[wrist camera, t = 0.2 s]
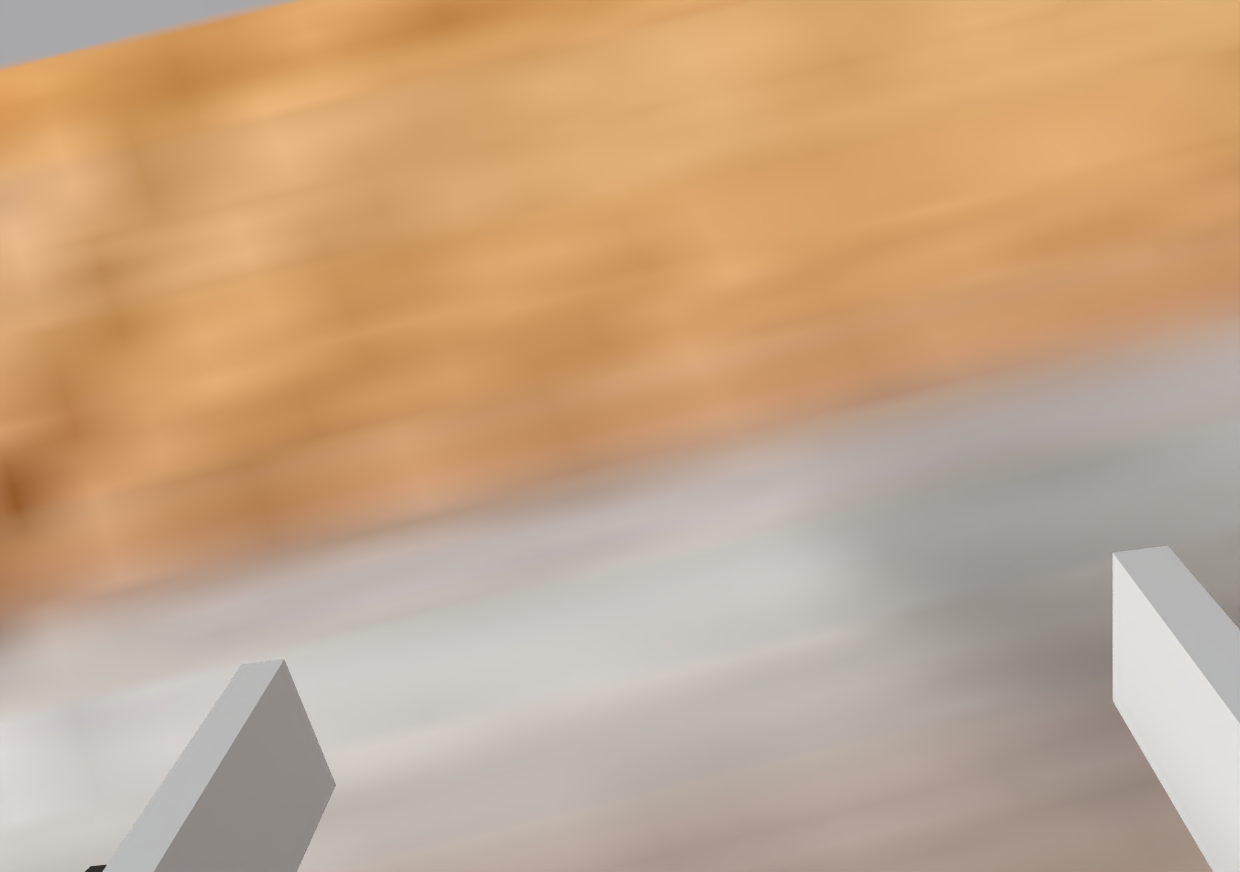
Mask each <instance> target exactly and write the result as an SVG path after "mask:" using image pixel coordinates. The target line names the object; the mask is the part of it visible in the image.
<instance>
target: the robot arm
mask: <svg viewBox="0 0 1240 872" xmlns="http://www.w3.org/2000/svg"><path fill="white" fill-rule="evenodd" d="M1113 702H1114V704H1115V706H1116V707H1117V709H1118V711H1119V712H1120V714H1121V716H1122V718H1123V719H1124V721H1125V723H1126V724H1127V726H1128V728H1129V729H1130V731H1131V733H1132V735H1133V736H1134V738H1135V740H1136V741H1137V743H1138V745H1139V746H1140V748H1141V750H1142V752H1143V753H1144V755H1145V757H1146V758H1147V760H1148V762H1149V763H1150V765H1151V767H1152V769H1153V770H1154V772H1155V774H1156V775H1157V777H1158V779H1159V780H1160V782H1161V784H1162V786H1163V787H1164V789H1165V791H1166V792H1167V794H1168V796H1169V798H1170V799H1171V801H1172V803H1173V804H1174V806H1175V808H1176V809H1177V811H1178V813H1179V815H1180V816H1181V818H1182V820H1183V821H1184V823H1185V825H1186V826H1187V828H1188V830H1189V832H1190V833H1191V835H1192V837H1193V838H1194V840H1195V842H1196V843H1197V845H1198V847H1199V849H1200V850H1201V852H1202V854H1203V855H1204V857H1205V859H1206V860H1207V862H1208V864H1209V866H1210V867H1211V869H1212V871H1213V872H1240V630H1239V629H1238V627H1237V626H1236V625H1235V624H1234V623H1233V621H1232V620H1231V619H1230V618H1229V617H1228V616H1227V614H1226V613H1225V612H1224V611H1223V610H1222V609H1221V607H1220V606H1219V605H1218V604H1217V603H1216V602H1215V600H1214V599H1213V598H1212V597H1211V596H1210V594H1209V593H1208V592H1207V591H1206V590H1205V589H1204V587H1203V586H1202V585H1201V584H1200V583H1199V582H1198V580H1197V579H1196V578H1195V577H1194V576H1193V575H1192V573H1191V572H1190V571H1189V570H1188V569H1187V567H1186V566H1185V565H1184V564H1183V563H1182V562H1181V560H1180V559H1179V558H1178V557H1177V556H1176V555H1175V553H1174V552H1173V551H1172V550H1171V549H1170V548H1169V546H1168V545H1167V546H1159V547H1152V548H1144V549H1136V550H1128V551H1120V552H1113ZM335 786H336V784H335V782H334V779H333V777H332V775H331V772H330V770H329V767H328V765H327V762H326V760H325V758H324V755H323V753H322V750H321V748H320V745H319V743H318V740H317V738H316V736H315V733H314V731H313V728H312V726H311V723H310V721H309V719H308V716H307V714H306V711H305V709H304V706H303V704H302V702H301V699H300V697H299V694H298V692H297V689H296V687H295V684H294V682H293V680H292V677H291V675H290V672H289V670H288V667H287V665H286V663H285V660H284V659H282V660H275V661H267V662H259V663H251V664H244V665H241V667H240V668H239V670H238V671H237V672H236V674H235V675H234V677H233V678H232V680H231V681H230V683H229V684H228V686H227V687H226V689H225V690H224V692H223V693H222V695H221V696H220V698H219V699H218V701H217V702H216V704H215V705H214V707H213V708H212V710H211V711H210V713H209V714H208V716H207V717H206V719H205V720H204V722H203V723H202V725H201V726H200V728H199V729H198V730H197V732H196V733H195V735H194V736H193V738H192V739H191V741H190V742H189V744H188V745H187V747H186V748H185V750H184V751H183V753H182V754H181V756H180V757H179V759H178V760H177V762H176V763H175V765H174V766H173V768H172V769H171V771H170V772H169V774H168V775H167V777H166V778H165V780H164V781H163V783H162V784H161V785H160V787H159V788H158V790H157V791H156V793H155V794H154V796H153V797H152V799H151V800H150V802H149V803H148V805H147V806H146V808H145V809H144V811H143V812H142V814H141V815H140V817H139V818H138V820H137V821H136V823H135V824H134V826H133V827H132V829H131V830H130V832H129V833H128V835H127V836H126V838H125V839H124V840H123V842H122V843H121V845H120V846H119V848H118V849H117V851H116V852H115V854H114V855H113V857H112V858H111V860H110V861H109V863H108V864H107V865H100V866H91V867H90V868H89V869H87V870H86V871H85V872H297V870H298V867H299V865H300V863H301V861H302V859H303V856H304V854H305V852H306V850H307V848H308V845H309V843H310V841H311V839H312V836H313V834H314V832H315V830H316V828H317V825H318V823H319V821H320V819H321V817H322V814H323V812H324V810H325V808H326V806H327V803H328V801H329V799H330V797H331V794H332V792H333V790H334V788H335Z"/></svg>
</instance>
